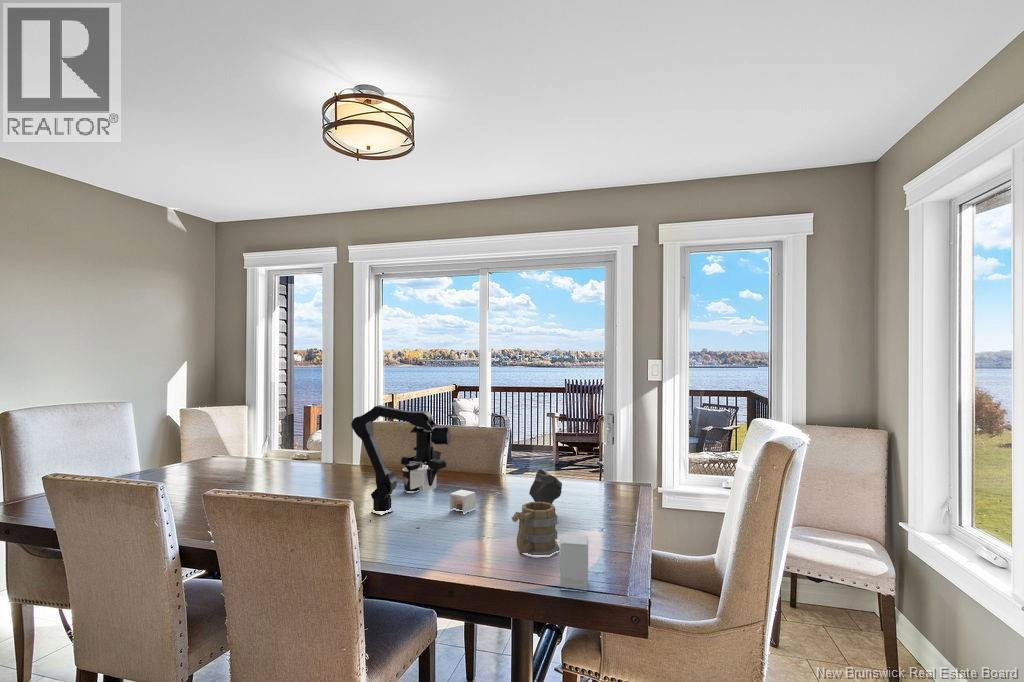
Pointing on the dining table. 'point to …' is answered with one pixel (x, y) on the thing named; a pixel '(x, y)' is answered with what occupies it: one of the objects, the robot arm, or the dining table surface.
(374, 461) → the robot arm
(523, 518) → the tankard
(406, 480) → the coffee mug
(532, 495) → the dark grey rock
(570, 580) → the supplement box
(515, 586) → the dining table surface
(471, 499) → the cover
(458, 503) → the plain orange cube
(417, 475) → the cover
